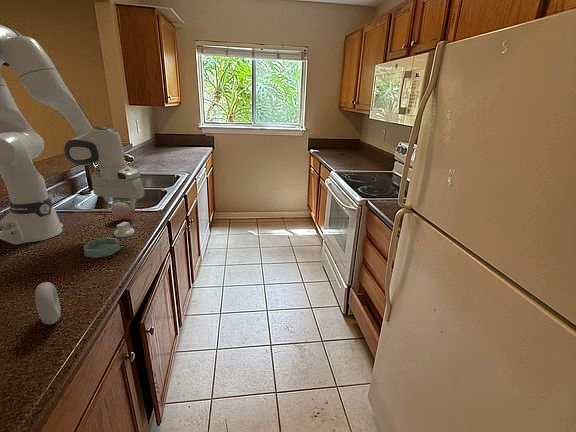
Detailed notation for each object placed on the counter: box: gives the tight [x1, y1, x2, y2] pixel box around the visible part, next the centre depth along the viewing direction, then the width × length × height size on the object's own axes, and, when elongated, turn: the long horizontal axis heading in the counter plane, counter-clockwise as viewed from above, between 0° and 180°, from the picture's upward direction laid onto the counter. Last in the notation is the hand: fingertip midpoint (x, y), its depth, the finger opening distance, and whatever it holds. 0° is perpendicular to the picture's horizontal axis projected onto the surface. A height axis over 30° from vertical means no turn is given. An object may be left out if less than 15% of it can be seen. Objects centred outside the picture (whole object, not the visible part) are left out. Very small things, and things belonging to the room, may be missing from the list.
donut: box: [34, 281, 62, 326], centre depth 74 cm, size 10×4×10 cm, turn 32°
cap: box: [113, 221, 135, 239], centre depth 123 cm, size 7×7×4 cm
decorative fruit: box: [111, 198, 136, 221], centre depth 135 cm, size 9×8×10 cm
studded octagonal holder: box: [83, 236, 121, 259], centre depth 110 cm, size 11×11×2 cm
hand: (122, 207), depth 120 cm, fingers open, 8 cm apart
